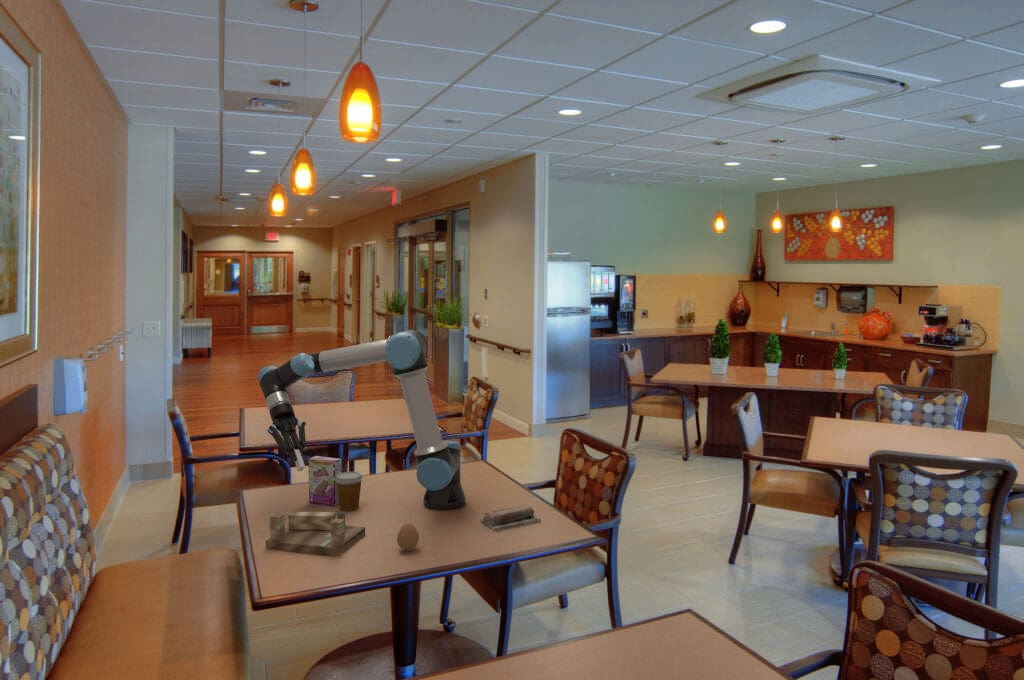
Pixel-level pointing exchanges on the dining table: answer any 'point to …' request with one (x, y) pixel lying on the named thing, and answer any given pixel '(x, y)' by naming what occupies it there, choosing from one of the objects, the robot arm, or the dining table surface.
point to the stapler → (509, 518)
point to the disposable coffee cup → (349, 489)
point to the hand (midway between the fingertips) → (301, 468)
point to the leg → (311, 520)
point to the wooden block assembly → (313, 537)
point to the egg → (407, 537)
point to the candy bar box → (323, 480)
